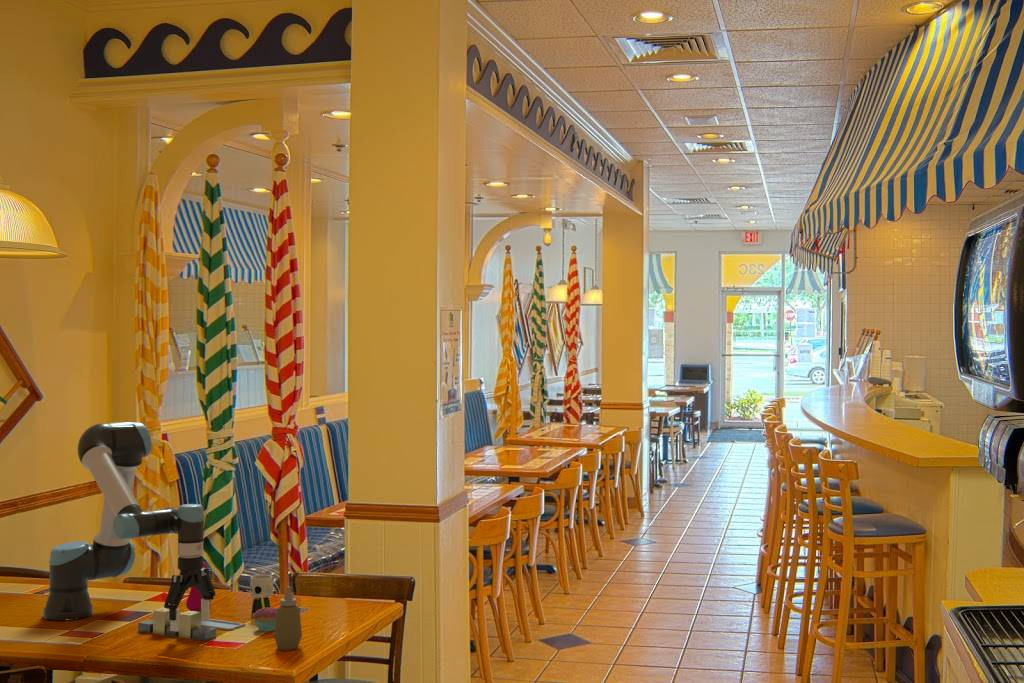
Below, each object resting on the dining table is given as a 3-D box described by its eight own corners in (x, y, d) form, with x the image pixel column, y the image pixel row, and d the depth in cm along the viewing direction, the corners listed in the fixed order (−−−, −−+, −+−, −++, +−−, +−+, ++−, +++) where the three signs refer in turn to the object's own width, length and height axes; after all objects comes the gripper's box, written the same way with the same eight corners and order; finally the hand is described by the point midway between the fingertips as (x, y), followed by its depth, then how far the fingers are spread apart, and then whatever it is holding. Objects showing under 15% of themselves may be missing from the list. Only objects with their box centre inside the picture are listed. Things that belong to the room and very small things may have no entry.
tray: (184, 625, 337) (184, 622, 337) (199, 620, 343) (199, 617, 343) (230, 631, 330) (230, 628, 330) (244, 626, 336) (244, 623, 336)
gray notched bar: (138, 632, 328) (138, 622, 328) (149, 628, 333) (149, 619, 333) (204, 642, 317) (205, 632, 317) (216, 638, 322) (216, 628, 322)
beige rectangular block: (178, 636, 322) (179, 613, 322) (188, 633, 326) (189, 610, 326) (190, 638, 320) (190, 615, 320) (200, 635, 324) (200, 612, 324)
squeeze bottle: (275, 644, 316) (276, 584, 316) (303, 644, 316) (304, 583, 316) (271, 652, 307) (272, 589, 308) (300, 651, 308) (300, 589, 308)
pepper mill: (202, 620, 344) (202, 558, 344) (181, 618, 345) (182, 557, 346) (212, 615, 351) (213, 554, 351) (192, 613, 352) (193, 553, 353)
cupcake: (256, 635, 326) (257, 596, 326) (250, 628, 334) (250, 590, 334) (284, 632, 330) (284, 593, 330) (277, 625, 338) (277, 588, 338)
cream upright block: (153, 633, 326) (153, 610, 326) (163, 629, 330) (163, 607, 330) (164, 634, 324) (164, 611, 324) (174, 631, 328) (175, 608, 328)
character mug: (241, 615, 350) (242, 576, 351) (258, 611, 356) (259, 572, 356) (263, 620, 344) (264, 580, 344) (280, 616, 350) (281, 577, 350)
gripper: (171, 563, 310) (171, 636, 310) (227, 550, 333) (226, 618, 333) (151, 561, 313) (151, 633, 313) (208, 548, 336) (207, 615, 336)
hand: (190, 625), depth 323 cm, fingers open, 13 cm apart
